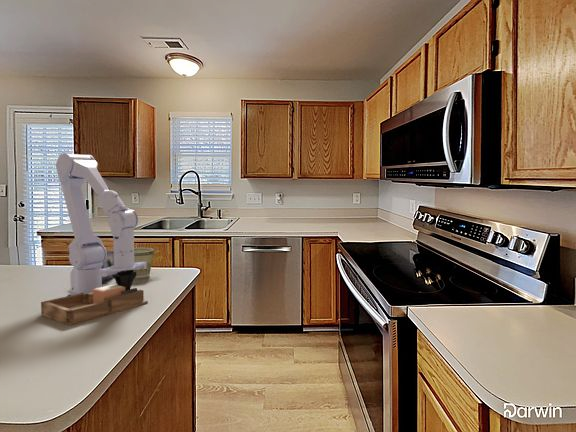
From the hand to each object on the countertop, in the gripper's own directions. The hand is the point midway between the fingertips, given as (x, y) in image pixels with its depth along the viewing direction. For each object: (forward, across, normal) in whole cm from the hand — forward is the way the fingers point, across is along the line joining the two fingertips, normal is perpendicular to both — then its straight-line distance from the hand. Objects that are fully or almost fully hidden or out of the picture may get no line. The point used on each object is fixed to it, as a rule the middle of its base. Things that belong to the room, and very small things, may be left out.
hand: (124, 296), depth 132 cm
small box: (+2, +10, +29) cm, 31 cm away
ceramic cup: (+2, +25, +23) cm, 34 cm away
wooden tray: (+2, -9, 0) cm, 9 cm away
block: (+2, -5, 0) cm, 5 cm away
